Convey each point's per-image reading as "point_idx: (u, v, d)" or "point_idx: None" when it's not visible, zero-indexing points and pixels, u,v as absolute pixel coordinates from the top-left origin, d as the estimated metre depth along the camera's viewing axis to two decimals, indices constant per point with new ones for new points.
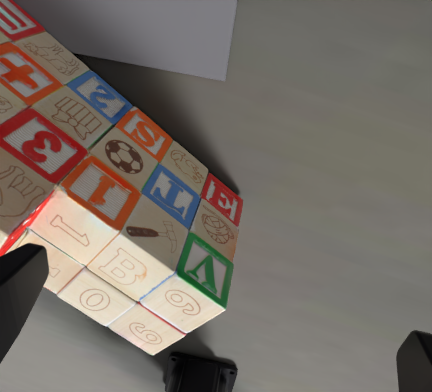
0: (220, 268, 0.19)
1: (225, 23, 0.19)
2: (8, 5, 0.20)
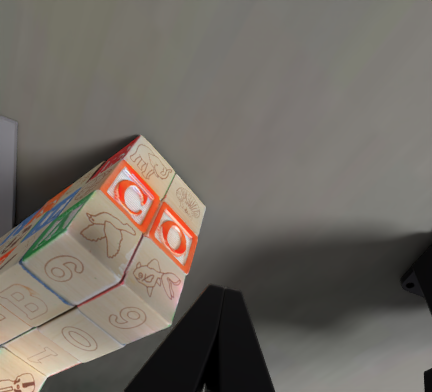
0: (80, 207, 0.16)
1: None
2: None
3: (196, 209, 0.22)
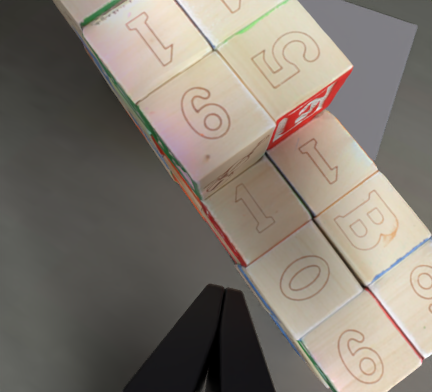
0: None
1: (381, 117, 0.24)
2: None
3: None
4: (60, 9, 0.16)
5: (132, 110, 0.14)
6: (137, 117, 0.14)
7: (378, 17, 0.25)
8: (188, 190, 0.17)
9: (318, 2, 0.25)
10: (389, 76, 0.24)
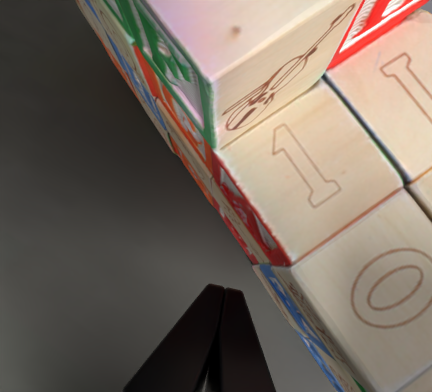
0: None
1: None
2: None
3: None
4: None
5: (103, 4, 0.09)
6: (111, 15, 0.09)
7: None
8: (192, 150, 0.11)
9: None
10: None
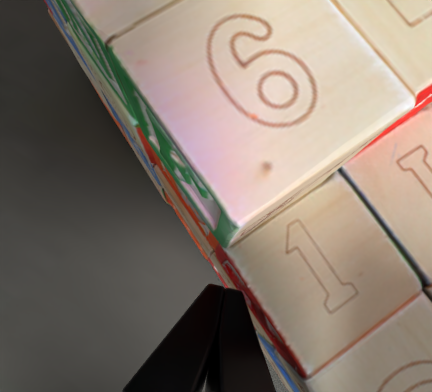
0: None
1: None
2: None
3: None
4: None
5: (105, 81, 0.08)
6: (113, 94, 0.08)
7: None
8: (192, 221, 0.11)
9: None
10: None
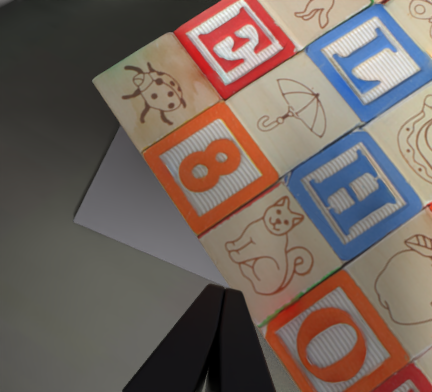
0: None
1: None
2: None
3: None
4: None
5: None
6: None
7: None
8: None
9: None
10: None
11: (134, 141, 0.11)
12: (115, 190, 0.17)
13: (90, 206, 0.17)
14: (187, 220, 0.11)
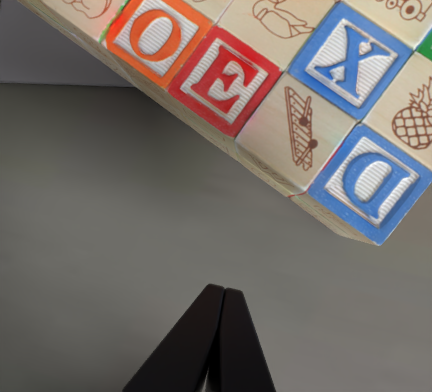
0: None
1: None
2: None
3: None
4: None
5: None
6: None
7: None
8: None
9: None
10: None
11: None
12: (17, 44, 0.20)
13: (3, 63, 0.20)
14: None
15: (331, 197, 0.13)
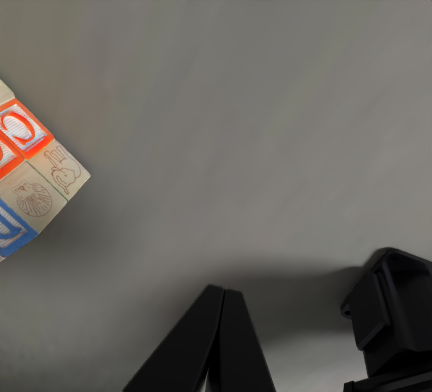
0: None
1: None
2: None
3: (29, 209, 0.18)
4: None
5: None
6: None
7: None
8: None
9: None
10: None
11: None
12: None
13: None
14: None
15: (8, 247, 0.19)
